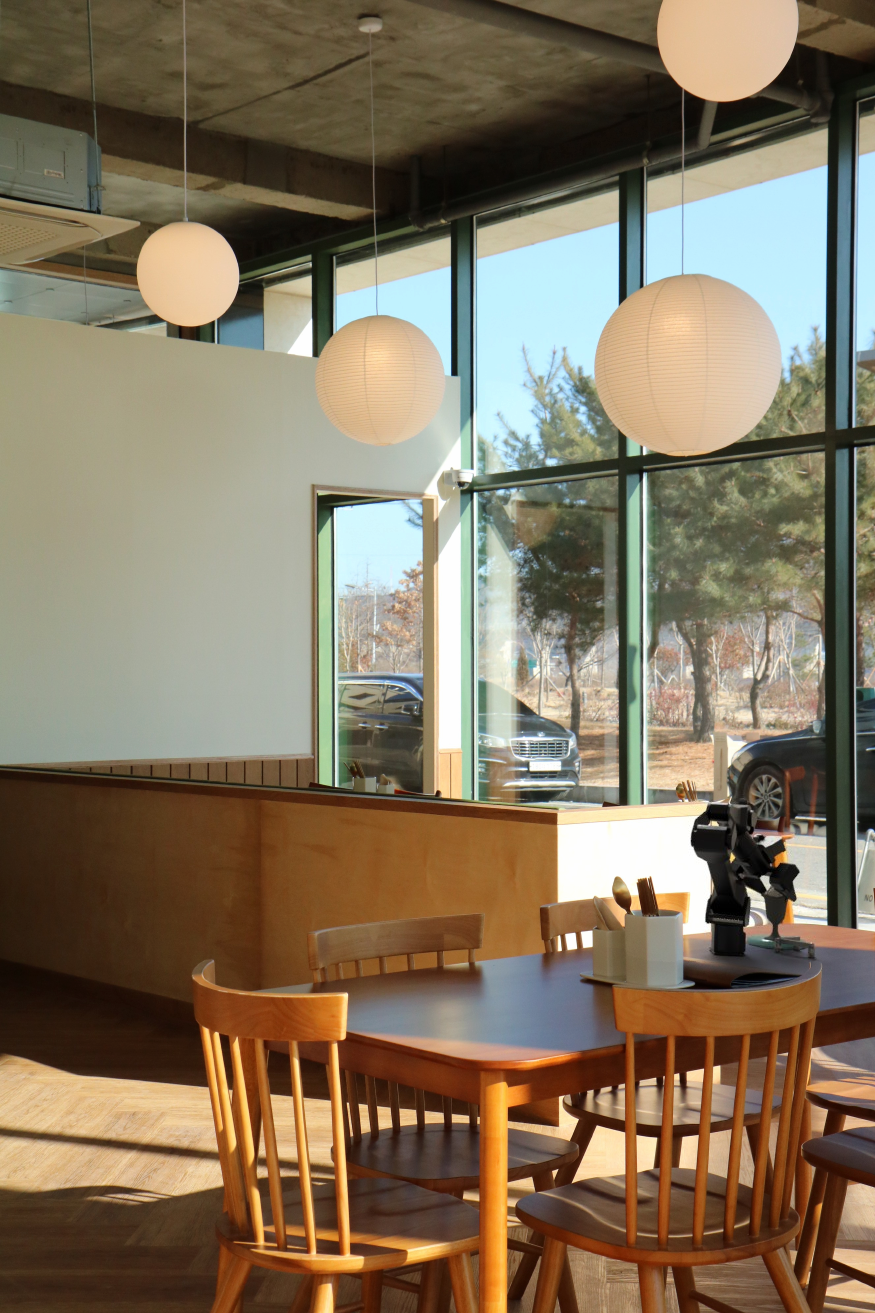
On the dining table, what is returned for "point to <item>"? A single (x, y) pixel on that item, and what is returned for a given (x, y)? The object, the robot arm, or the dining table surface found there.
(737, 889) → the robot arm
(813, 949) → the jointed flat metal bars
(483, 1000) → the dining table surface
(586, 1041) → the dining table surface
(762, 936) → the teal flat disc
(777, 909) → the sundae
